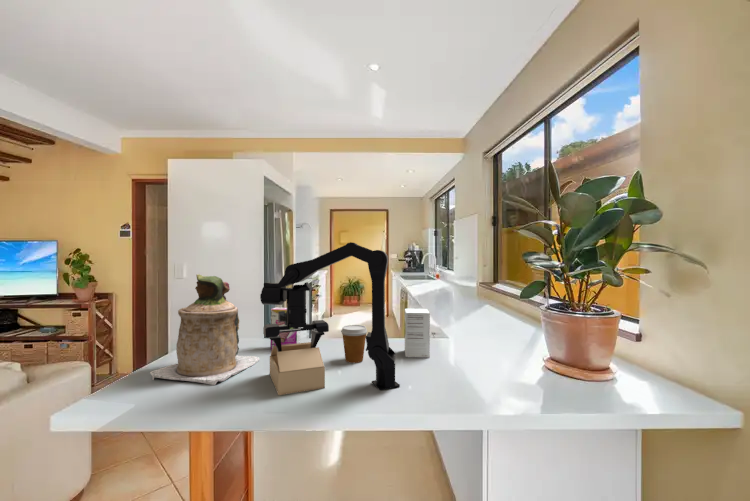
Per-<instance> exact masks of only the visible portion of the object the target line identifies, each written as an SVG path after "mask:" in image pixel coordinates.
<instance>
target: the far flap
mask: <svg viewBox="0 0 750 501" xmlns="http://www.w3.org/2000/svg"><path fill="white" fill-rule="evenodd" d="M281 347H282V351H290V350H299V349H308V348H310V347H311V341H310V342H309V341H308V342H307V341H306V342H300V343H297V344H287V345H281ZM277 352H278V350H277V347H276V346H273V348H272V349H271V352H270V356H272V355H277Z"/></svg>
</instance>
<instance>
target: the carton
mask: <svg viewBox="0 0 750 501" xmlns="http://www.w3.org/2000/svg"><path fill="white" fill-rule="evenodd" d="M325 372H326V368H325V366H324V367H323V368H315V369H308V370H300V371H293V372H285V373H280V372H279V365H278V359H277V355H272V356H271V355H269V376H270V378H271V381H272V383H273V386H274V388H275V390H276V393H277V396H284V395H289V394H296V393H301V392H309V391H314V390H315V391H316V390H321V389H325V388H326V386H325V385H326V383H325V382H326V381H325V380H326V377H325V376H326V373H325Z"/></svg>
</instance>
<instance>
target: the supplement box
mask: <svg viewBox="0 0 750 501" xmlns="http://www.w3.org/2000/svg"><path fill="white" fill-rule="evenodd" d="M430 330H431V312H429V309H428V308H404V355H405V358H426V359H427V358H429V359H430V357H431V353H430V351H431V349H430V348H431V347H430V346H431V342H430V341H431V340H430V339H431V338H430V337H431V334H430Z"/></svg>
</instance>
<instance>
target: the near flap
mask: <svg viewBox="0 0 750 501" xmlns="http://www.w3.org/2000/svg"><path fill="white" fill-rule="evenodd" d="M277 359H278V365H279V372H280V373H285V372H293V371H300V370H308V369H315V368H323V367H325V364H324V361H323V358H322V353H321V350H320V347H318V346H316V348H308V349H299V350H290V351H281V352H277Z"/></svg>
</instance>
